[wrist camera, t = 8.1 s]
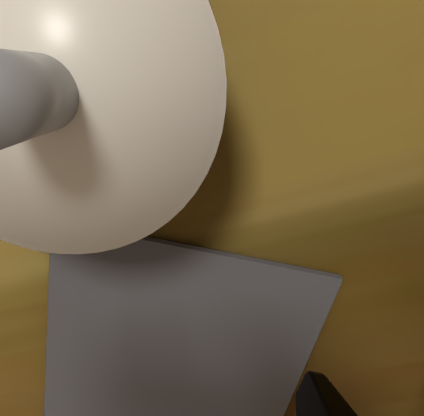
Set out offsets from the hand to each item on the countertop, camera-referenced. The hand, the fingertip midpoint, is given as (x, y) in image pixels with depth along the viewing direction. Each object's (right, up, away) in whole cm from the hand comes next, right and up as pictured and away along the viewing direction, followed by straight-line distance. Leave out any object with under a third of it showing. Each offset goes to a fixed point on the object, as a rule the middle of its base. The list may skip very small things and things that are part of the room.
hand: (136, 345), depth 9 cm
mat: (-1, -7, +15) cm, 17 cm away
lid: (-4, +8, +4) cm, 10 cm away
